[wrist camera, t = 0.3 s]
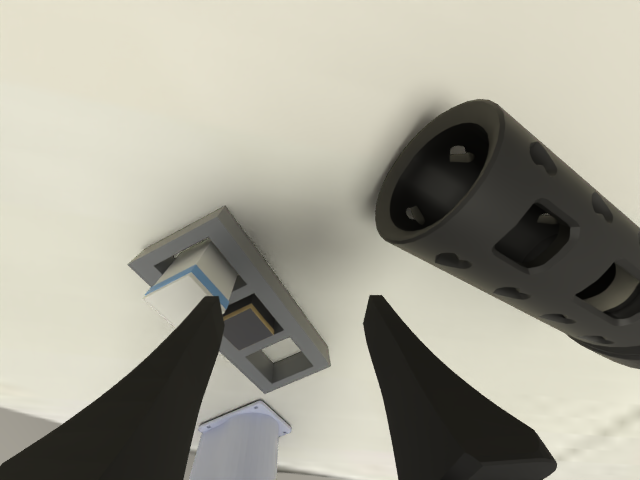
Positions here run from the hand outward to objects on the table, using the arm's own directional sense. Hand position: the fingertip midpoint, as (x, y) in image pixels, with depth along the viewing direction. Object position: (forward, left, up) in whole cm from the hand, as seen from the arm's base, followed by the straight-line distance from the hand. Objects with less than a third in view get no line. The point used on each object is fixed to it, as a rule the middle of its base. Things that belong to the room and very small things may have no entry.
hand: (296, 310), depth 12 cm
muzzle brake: (+17, -10, -11) cm, 23 cm away
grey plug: (-8, +1, -10) cm, 13 cm away
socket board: (-8, -5, -10) cm, 14 cm away
